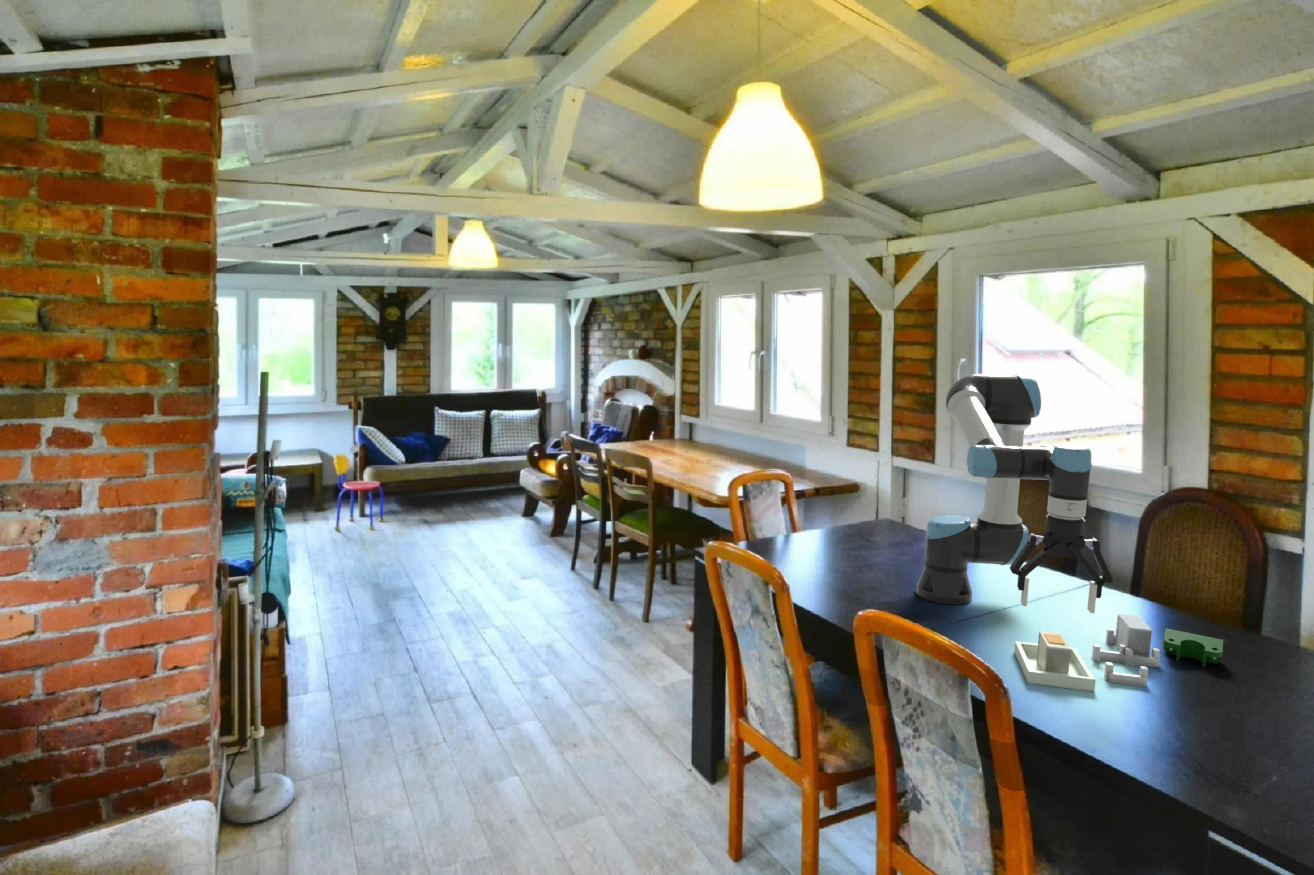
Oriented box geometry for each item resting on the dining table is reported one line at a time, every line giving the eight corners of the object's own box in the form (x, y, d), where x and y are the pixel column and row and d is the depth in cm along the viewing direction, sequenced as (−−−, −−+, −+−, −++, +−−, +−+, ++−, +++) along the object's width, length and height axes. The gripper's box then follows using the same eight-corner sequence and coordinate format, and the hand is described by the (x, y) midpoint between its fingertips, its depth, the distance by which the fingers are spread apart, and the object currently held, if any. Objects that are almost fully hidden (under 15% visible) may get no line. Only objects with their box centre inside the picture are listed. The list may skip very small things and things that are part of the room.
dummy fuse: (1126, 660, 176) (1129, 627, 175) (1114, 645, 185) (1117, 614, 184) (1148, 662, 175) (1152, 629, 174) (1135, 647, 184) (1139, 616, 183)
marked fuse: (1044, 676, 166) (1047, 645, 165) (1036, 659, 175) (1039, 629, 174) (1067, 679, 165) (1070, 647, 164) (1058, 662, 174) (1061, 632, 173)
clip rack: (1107, 682, 165) (1108, 666, 164) (1077, 637, 189) (1079, 623, 189) (1180, 691, 161) (1181, 675, 160) (1140, 644, 185) (1141, 630, 185)
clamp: (1170, 675, 178) (1155, 642, 178) (1172, 661, 183) (1157, 629, 182) (1230, 672, 170) (1214, 637, 170) (1231, 657, 175) (1215, 623, 174)
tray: (1027, 683, 164) (1028, 671, 163) (1014, 652, 180) (1015, 641, 179) (1094, 692, 160) (1095, 679, 160) (1074, 659, 176) (1075, 648, 176)
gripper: (1006, 515, 165) (999, 607, 168) (1135, 524, 158) (1124, 620, 161) (1001, 507, 172) (994, 595, 175) (1124, 516, 165) (1114, 607, 168)
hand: (1056, 607), depth 168 cm, fingers open, 13 cm apart
